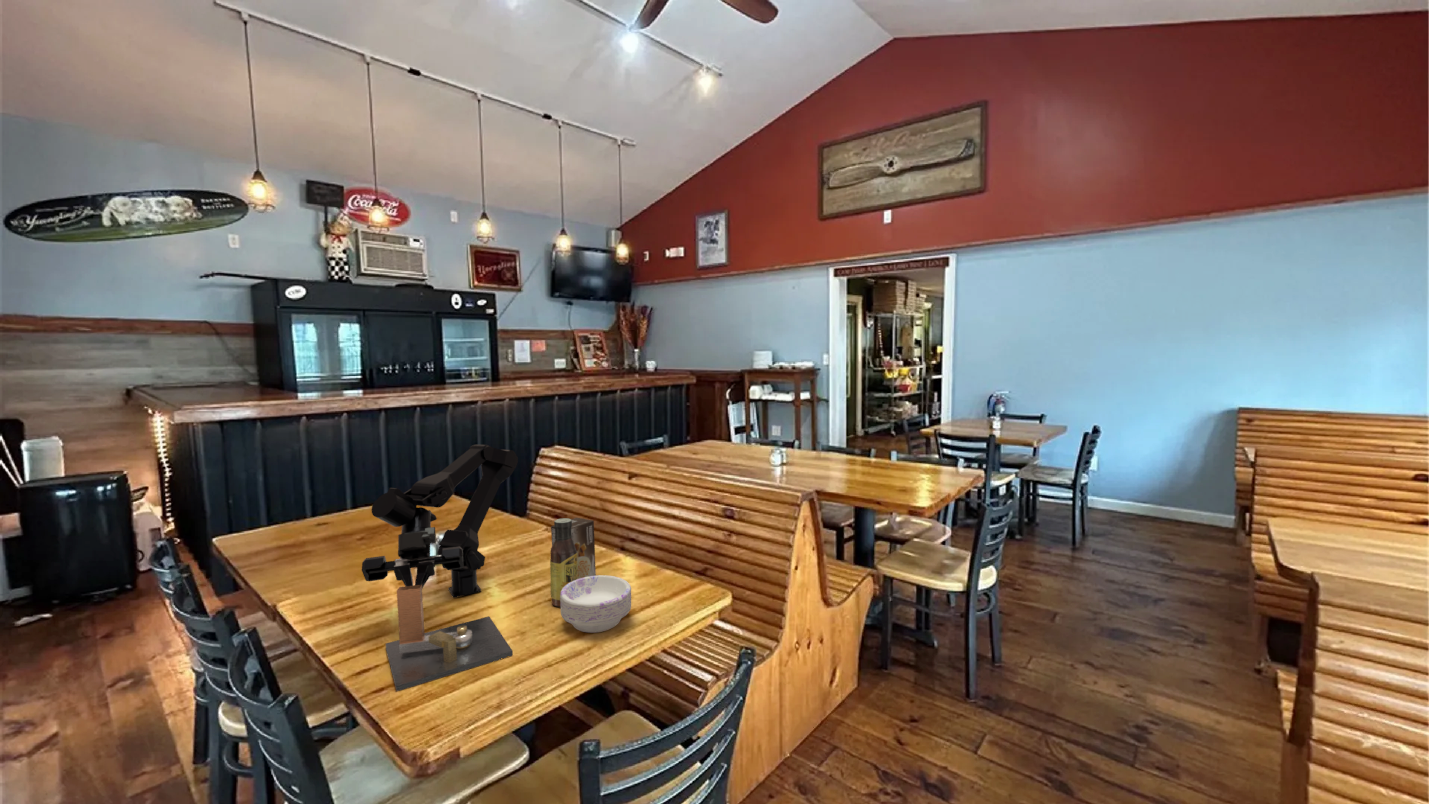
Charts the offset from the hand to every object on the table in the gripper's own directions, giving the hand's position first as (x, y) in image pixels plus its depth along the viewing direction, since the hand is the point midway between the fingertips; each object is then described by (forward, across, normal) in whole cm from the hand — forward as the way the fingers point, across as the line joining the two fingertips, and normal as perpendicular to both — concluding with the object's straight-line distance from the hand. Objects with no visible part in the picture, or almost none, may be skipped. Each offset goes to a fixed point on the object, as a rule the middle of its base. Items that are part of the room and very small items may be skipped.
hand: (413, 602), depth 115 cm
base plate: (+11, +6, +1) cm, 13 cm away
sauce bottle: (+1, +31, +11) cm, 33 cm away
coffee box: (-6, +35, +18) cm, 40 cm away
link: (+10, +4, 0) cm, 11 cm away
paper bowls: (+11, +36, +2) cm, 38 cm away
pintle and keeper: (+13, +7, -1) cm, 14 cm away
